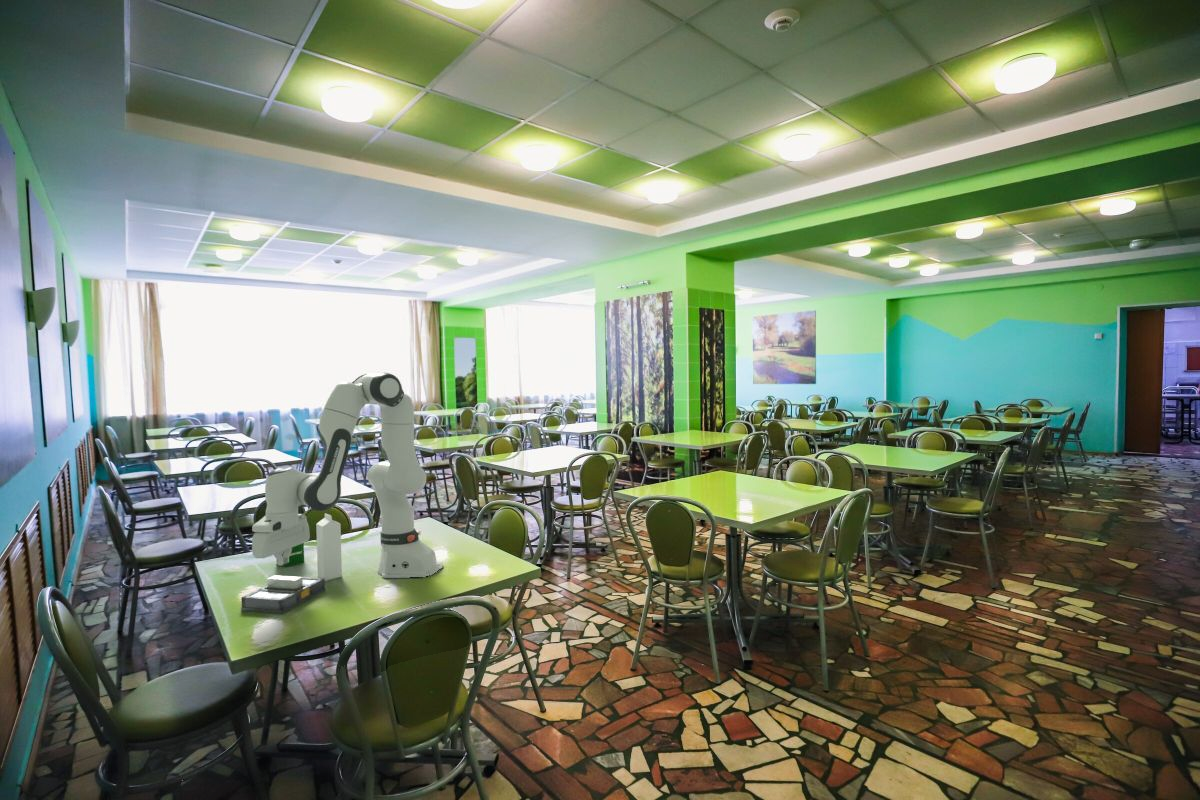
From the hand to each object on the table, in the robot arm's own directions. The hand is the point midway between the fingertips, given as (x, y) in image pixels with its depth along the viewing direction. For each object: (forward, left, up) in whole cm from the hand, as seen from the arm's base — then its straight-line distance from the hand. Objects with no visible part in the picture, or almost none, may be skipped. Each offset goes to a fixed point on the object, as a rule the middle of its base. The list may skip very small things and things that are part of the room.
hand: (283, 563), depth 176 cm
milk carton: (+25, -32, -12) cm, 42 cm away
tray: (0, 0, -12) cm, 12 cm away
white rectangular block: (0, 0, -11) cm, 11 cm away
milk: (0, -21, -12) cm, 24 cm away
